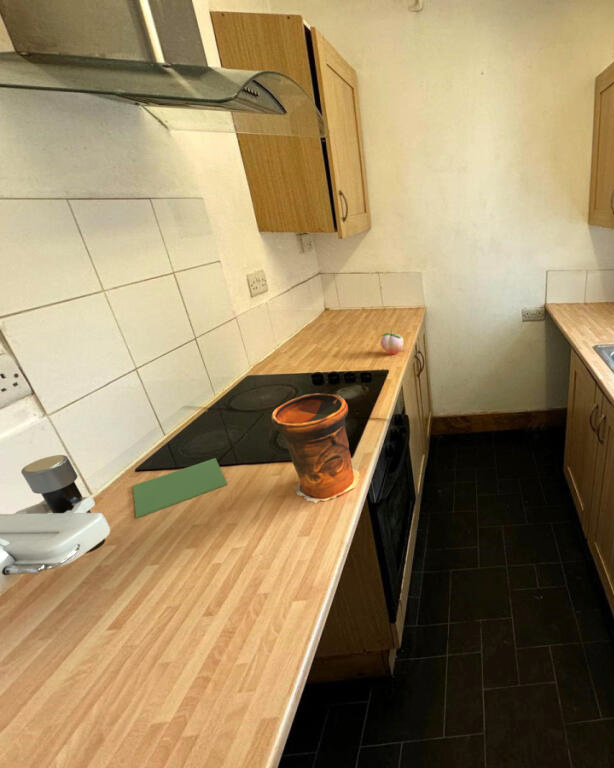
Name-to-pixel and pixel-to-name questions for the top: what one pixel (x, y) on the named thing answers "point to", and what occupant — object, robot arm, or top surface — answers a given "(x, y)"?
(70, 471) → the torch
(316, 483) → the vessel
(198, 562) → the top surface
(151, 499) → the cloth
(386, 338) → the decorative fruit
